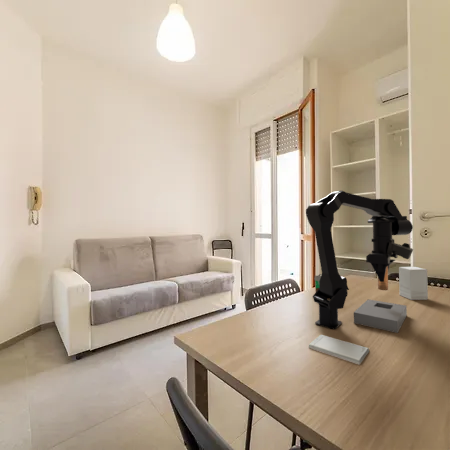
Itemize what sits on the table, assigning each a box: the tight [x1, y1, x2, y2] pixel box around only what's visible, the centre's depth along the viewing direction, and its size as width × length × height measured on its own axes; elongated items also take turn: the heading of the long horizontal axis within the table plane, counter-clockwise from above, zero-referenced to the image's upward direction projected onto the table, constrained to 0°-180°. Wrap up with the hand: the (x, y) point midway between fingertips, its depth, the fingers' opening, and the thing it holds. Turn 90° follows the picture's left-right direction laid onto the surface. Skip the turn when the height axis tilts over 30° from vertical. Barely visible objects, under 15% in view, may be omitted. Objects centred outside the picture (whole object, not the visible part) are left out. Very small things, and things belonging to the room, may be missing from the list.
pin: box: [377, 266, 389, 291], centre depth 90 cm, size 3×3×9 cm
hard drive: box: [308, 334, 370, 366], centre depth 67 cm, size 2×8×12 cm
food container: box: [314, 273, 322, 293], centre depth 114 cm, size 12×6×10 cm, turn 143°
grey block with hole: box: [353, 299, 408, 334], centre depth 87 cm, size 18×12×4 cm, turn 138°
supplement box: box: [398, 266, 429, 301], centre depth 110 cm, size 7×7×13 cm
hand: (382, 280), depth 90 cm, fingers closed on pin, 3 cm apart
